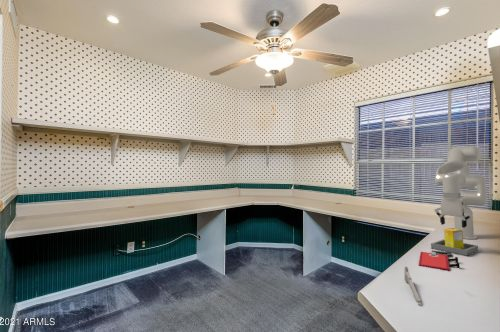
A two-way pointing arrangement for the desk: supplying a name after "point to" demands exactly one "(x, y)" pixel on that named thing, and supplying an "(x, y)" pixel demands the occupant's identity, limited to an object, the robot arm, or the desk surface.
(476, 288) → the desk surface
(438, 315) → the desk surface
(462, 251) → the tray
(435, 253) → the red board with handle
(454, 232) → the supplement box
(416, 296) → the caliper
